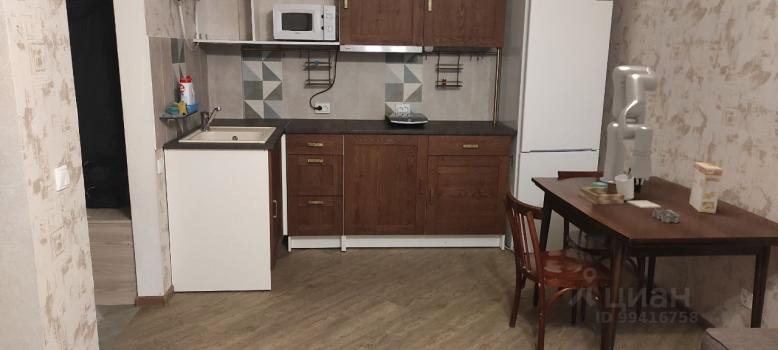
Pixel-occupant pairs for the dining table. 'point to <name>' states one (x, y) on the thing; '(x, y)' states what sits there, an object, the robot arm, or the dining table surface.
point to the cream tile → (644, 204)
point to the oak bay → (600, 196)
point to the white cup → (625, 186)
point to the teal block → (599, 185)
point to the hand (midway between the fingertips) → (636, 192)
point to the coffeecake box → (705, 187)
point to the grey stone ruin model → (666, 215)
